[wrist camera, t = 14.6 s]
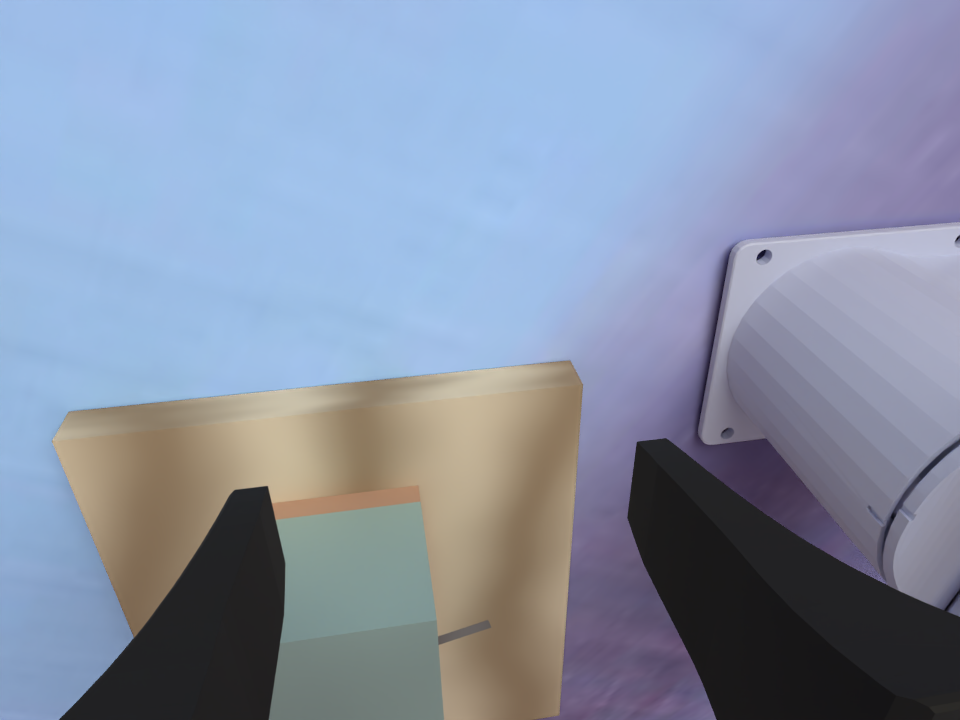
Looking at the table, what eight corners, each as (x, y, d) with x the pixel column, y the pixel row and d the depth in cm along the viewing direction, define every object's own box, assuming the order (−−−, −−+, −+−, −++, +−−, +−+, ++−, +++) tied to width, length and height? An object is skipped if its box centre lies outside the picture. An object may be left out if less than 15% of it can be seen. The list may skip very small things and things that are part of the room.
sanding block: (418, 485, 24) (437, 620, 19) (432, 655, 28) (449, 796, 24) (265, 504, 23) (246, 648, 18) (305, 675, 28) (298, 824, 23)
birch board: (570, 360, 24) (582, 384, 23) (550, 685, 33) (559, 715, 32) (68, 411, 22) (51, 441, 21) (198, 743, 31) (192, 777, 30)
